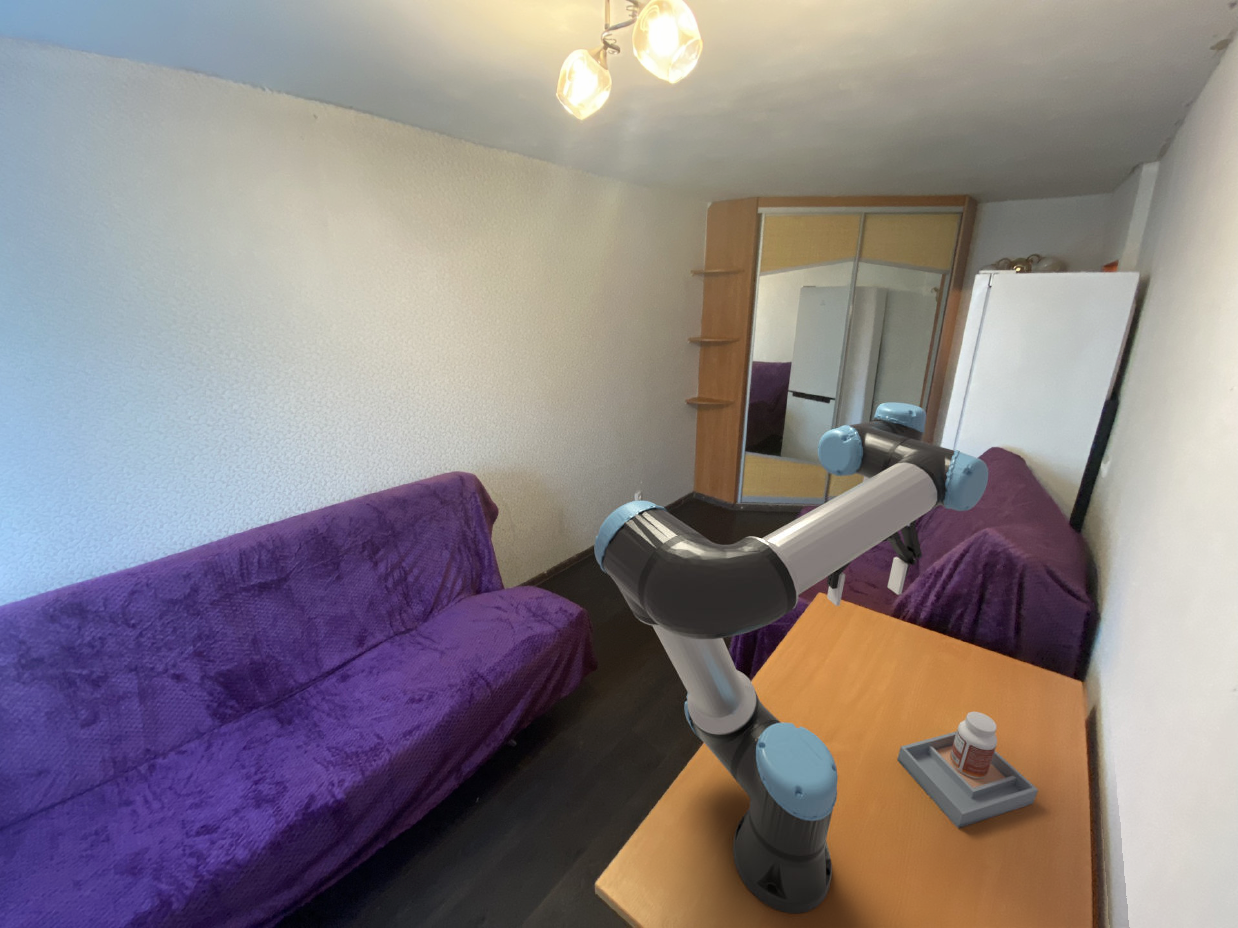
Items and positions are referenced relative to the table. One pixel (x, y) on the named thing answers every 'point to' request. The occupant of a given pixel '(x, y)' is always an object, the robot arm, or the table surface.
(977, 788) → the walled box
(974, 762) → the pill bottle
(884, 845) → the table surface
